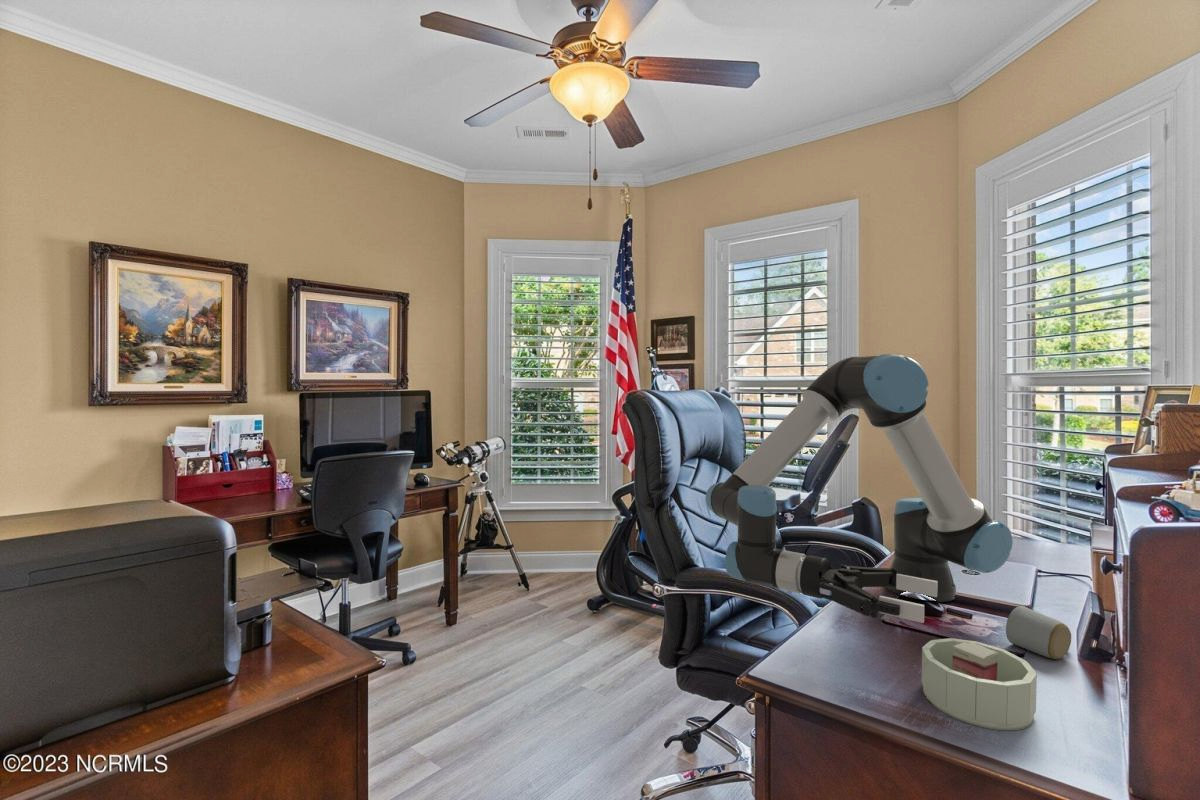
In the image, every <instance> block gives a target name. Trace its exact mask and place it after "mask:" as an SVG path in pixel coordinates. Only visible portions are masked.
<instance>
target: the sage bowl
mask: <svg viewBox="0 0 1200 800" xmlns="http://www.w3.org/2000/svg"><path fill="white" fill-rule="evenodd" d="M964 641H969V642H972V643H974V644H977V645H980V646H983V647H985V648H987V649H990V650H992V651H995V652H997V653H998V665H997V681H993V680H986V679H979V678H975V677H972V676H969V675H966V674H963V673H960V672H957V671H954V670H952V661H953V646H954V645H956V644H959V643H961V642H964ZM1037 676H1038V675H1037V672H1036V671H1035V669H1034V668H1033V667H1032V666H1031V665H1030V663H1029V662H1028V661H1027V660H1025V659H1024V658H1022V657H1019V656H1017V655H1016V654H1014V653H1011V651H1010V652H1009V651H1008V650H1006V649H1003V648H1000V647H997V646H993V645H990V644H986V643H983V642H979V641H976V640H975V641H974V640H967V639H959V638H951V637H950V638H939V639H931V640H930V641H928V642H926V643H925V645H923V646H922V648H921V684H922V692H923V695H924V697H925V696H926V697H925V698H926V700H927V699H928V700H929V701H930V702H931V703H932V704H933V705H932V704H931V703H930V702H929V701H928V700H927V701H928V702H929V703H930V704H931V705H932V706H934V707H935V708H936V709H938V710H939V711H941V712H943V713H944V714H946V715H948V716H949V717H951V718H954V719H957V720H958V721H961V722H963V723H967V724H970V725H973V726H976V727H980V728H984V729H989V730H995V731H996V730H997V731H1010V732H1011V731H1012V732H1013V731H1019V730H1023V729H1026V728H1028V727H1031V725H1032V724H1033V723H1034V716H1035V714H1036V712H1037V683H1038V682H1037V680H1038V679H1037V678H1038V677H1037Z"/></svg>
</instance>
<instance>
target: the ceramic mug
mask: <svg viewBox="0 0 1200 800" xmlns="http://www.w3.org/2000/svg"><path fill="white" fill-rule="evenodd" d="M1007 617H1008V618H1007V619H1006V620H1007V621H1006V626H1005V635H1006V639H1007V640H1008V642H1009V643H1010V644H1012V645H1014V644H1015V646H1018V647H1021V648H1022V649H1024V648H1025V650H1027V651H1030V652H1032V653H1036V654H1038V655H1040V656H1042V657H1045V658H1048V659H1052V660H1060V659H1063V658H1064V657H1065V656H1066V655H1067V654H1068V651H1069V650H1070V647H1071V644H1072V643H1071V642H1072V632H1071V629H1070V628H1069V627H1068V625H1066V624H1065V623H1063V622H1061V620H1058V619H1056V618H1053V617H1050V616H1048V615H1045V614H1042V613H1041V612H1038V611H1035V610H1034V609H1031V608H1028V607H1026V606H1023V605H1018V606H1017V607H1015V608H1014V609H1012V610H1011V612H1010V614H1009V615H1008V616H1007Z"/></svg>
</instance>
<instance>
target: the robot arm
mask: <svg viewBox="0 0 1200 800" xmlns="http://www.w3.org/2000/svg"><path fill="white" fill-rule="evenodd" d="M927 387H929V378H928V375H927V373H926V372H925V370H924V368H923V367H922V365H921V364H919V362H917V361H916V360H914V359H912V358H910V357H908V356H905V355H899V354H893V353H891V354H890V353H889V354H886V353H885V354H879V355H870V356H868V355H867V356H850V357H847V358H843V359H841V360H839V361H837V362H836V363H834V364H832V365H831V366H830V367H828V368H827V369H826V370H824V371H823V372H822V373H821V374H820V375H818V377H817V378H816V379H815V380H814V381H813V382H811V383H810V384H809V385H808V386H807V388H806V389H805V390H804V391H803V392H802V400H800V402H799V403H798V404H797V405H795V407H794V408H793V409H792V410H791V411H790V412H789V413H788V414H787V415H786V416H785V417H784V419H782V421H781V422H780V423H779V424H778V425H777V426H776V427H775V428H774V430H772V431H771V433H769V435H767V437H766V438H764V440H763V441H762V442H761V443H760V444H759V445H758V446H757V447H756V448H755V449H754V450H753V452H751V454H749V456H748V457H747V458H746V459H745V460H744V461H743V462H742V463H741V464H740V465H739V466H738V468H737V469H735V470H734V472H733V473H732V474H730V476H729V477H728V478H727V479H726V480H725V481H722V482H721V481H720V482H715V483H713V484H711V485H710V486H709V488H708V489H707V491H706V493H705V503H706V506H707V507H708V509H709V511H711V512H712V513H714V515H715V516H717V517H719V518H720V519H723V520H726V522H727V521H728V522H729V523H732V524H733V525H735V526H736V527H737V540H736V541H732V542H730V544H728V546H727V548H726V551H725V553H726V554H725V557H724V568H725V572H726V573H727V574H728V575H729V576H730V577H731V578H734V579H736V580H740V581H744V582H746V583H749V584H756V585H760V586H765V587H770V588H774V589H779V590H782V591H786V593H788V594H792V593H796V594H803V595H804V596H808V597H812V598H815V599H820V600H822V599H824V600H825V599H826V600H828V601H832V602H834V603H836V604H839V605H841V606H843V607H845V608H848V609H849V610H852V611H854V612H857V613H859V614H862V615H863V616H866V617H871V618H873V619H877V618H879V617H878V615H879V614H882V615H887V616H891V617H894V618H895V617H896V618H899V619H904V620H908V621H912V622H917V623H920V624H924V623H925V604H921V603H916V602H913V601H907V600H903V599H897V598H894V597H889V596H883V595H879V597H877V596H875V595H874V594H872V593H870V592H869V591H866V590H865V589H863V588H881V587H883V588H887V590H888V591H890V592H891V593H894V594H896V595H898V596H900V595H899V594H901V593H903V592H906V591H908V592H913V593H918V594H923V595H926V596H928V597H931V598H933V599H935V600H936V601H938V602H937V603H945V602H951V601H953V600H955V599H956V598H955V597H954V596H955V592H956V593H957V587H956V584H955V582H954V579H953V574H952V571H951V568H950V566H949V562H951V563H953V564H955V565H958V566H960V567H963V568H965V569H968V570H969V571H976V572H978V573H983V574H985V573H986V574H987V573H988V574H989V573H993V572H995V571H997V570H999V569H1000V568H1002V566H1004V565H1005V564H1006V563H1007V561H1008V559H1009V557H1010V555H1011V552H1012V549H1013V545H1014V543H1013V542H1014V541H1013V540H1014V539H1013V533H1012V531H1011V530H1010V528H1009V527H1008V526H1007V525H1006V524H1005V523H1003V522H1002V521H999V520H993V519H992V518H991V517H990V515H989V513H988V512H987V510H986V508H985V506H984V504H983V503H982V502H981V501H979V500H978V499H976V498H973V497H970V495H969V493H968V491H967V490H966V488H965V485H964V484H963V482H962V480H961V478H960V477H959V475H958V473H957V470H956V469H955V468H954V465H953V464H952V462H951V460H950V458H949V456H948V455H947V453H946V451H945V449H944V447H943V446H942V444H941V442H940V440H939V438H938V436H937V434H936V433H935V431H934V428H933V427H932V426H931V424H930V422H929V420H928V418H927V416H926V415H925V412H924V411H925V410H926V407H927V405H928V402H927V397H928V394H929V390H928V389H927ZM853 409H856V410H857V409H858V410H859V409H860V410H862V411H863V413H864V414H865V415H866V417H867V419H868V421H869V423H870V424H871V425H872V427H874V428H876V429H881V430H883V432H884V434H885V435H886V438H887V440H888V441H889V443H890V444H891V446H892V447H893V451H894V452H895V454H896V455H897V457H898V458H899V460H900V462H901V464H902V465H903V468H904V469H905V471H906V473H907V474H908V477H909V478H910V480H911V482H912V484H913V485H914V487H915V489H916V491H917V492H918V494H919V496H920V497H911V498H910V497H908V498H907V497H906V498H900V499H899V500H897V502H896V503H895V509H894V513H893V516H894V518H893V519H894V520H893V521H894V522H893V523H894V524H893V527H894V528H893V533H894V534H893V535H894V539H893V540H894V542H893V543H894V546H893V548H894V549H893V551H894V554H893V559H892V561H891V564H890V568H887V567H872V566H871V567H870V566H869V567H868V566H857V565H856V566H855V565H848V564H840V565H839V568H838V569H835V568H832V567H831V565H830V562H829V561H830V560H828V559H827V558H826V557H820V556H815V555H812V554H811V555H810V554H809V555H806V554H805V553H800V552H796V551H795V552H794V551H790V550H786V549H785V550H784V549H779V548H777V539H776V538H777V536H776V535H777V512H778V506H777V497H776V496H777V494H776V491H775V490H774V489H773V488H771V487H769V486H770V484H771V483H772V482H773V481H775V479H776V478H777V477H778V476H779V475H780V474H781V473H782V472H783V471H784V470H785V469H786V467H787V466H788V465H789V464H790V463H791V462H792V461H794V459H795V458H796V457H797V456H798V454H800V452H801V451H803V449H804V448H805V447H806V446H807V445H808V444H809V443H810V442H811V441H812V440H813V439H814V438H815V437H816V435H817V434H818V433H819V432H820V431H821V430H822V429H823V428H824V427H825V426H826V425H827V423H829V422H830V421H831V422H832V421H833V422H834V421H836V420H838V419H839V418H840V416H841V415H843V413H845V412H847V411H849V410H853Z"/></svg>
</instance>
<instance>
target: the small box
mask: <svg viewBox="0 0 1200 800" xmlns="http://www.w3.org/2000/svg"><path fill="white" fill-rule="evenodd" d="M969 641H970V640H969ZM969 641H964V642H961V643H959V644H956V645H954V646H953V661H952V670H954V671H957V672H960V673H963V674H966V675H969V676H972V677H975V678H979V679H986V680H993V681H997V665H998V653H997V652H995V651H992V650H990V649H987V648H985V647H983V646H980V645H977V644H974V643H972V642H969Z"/></svg>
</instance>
